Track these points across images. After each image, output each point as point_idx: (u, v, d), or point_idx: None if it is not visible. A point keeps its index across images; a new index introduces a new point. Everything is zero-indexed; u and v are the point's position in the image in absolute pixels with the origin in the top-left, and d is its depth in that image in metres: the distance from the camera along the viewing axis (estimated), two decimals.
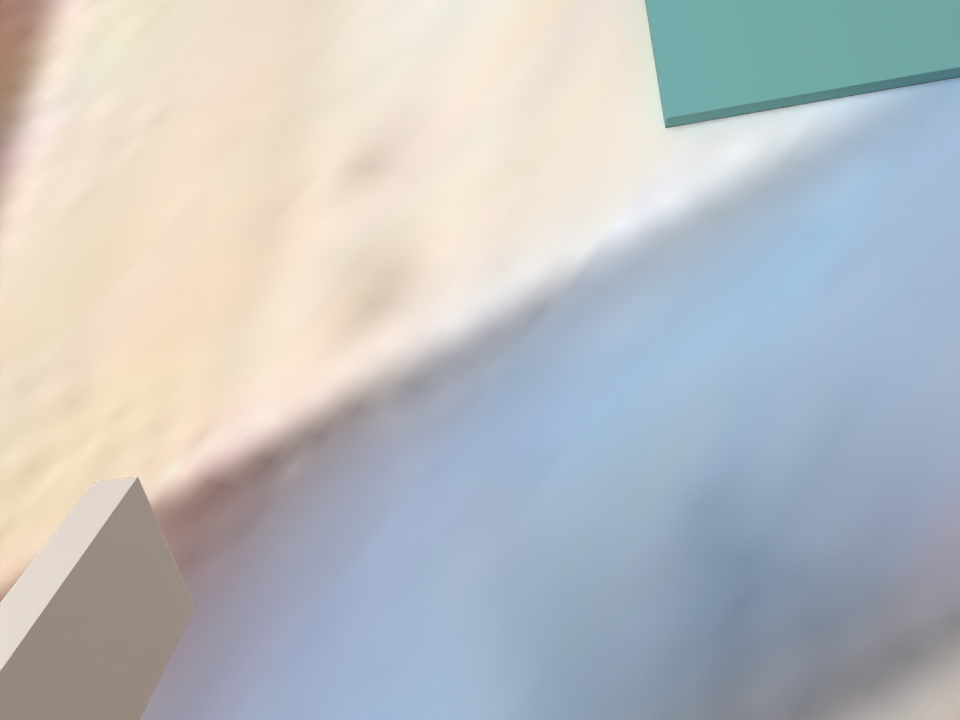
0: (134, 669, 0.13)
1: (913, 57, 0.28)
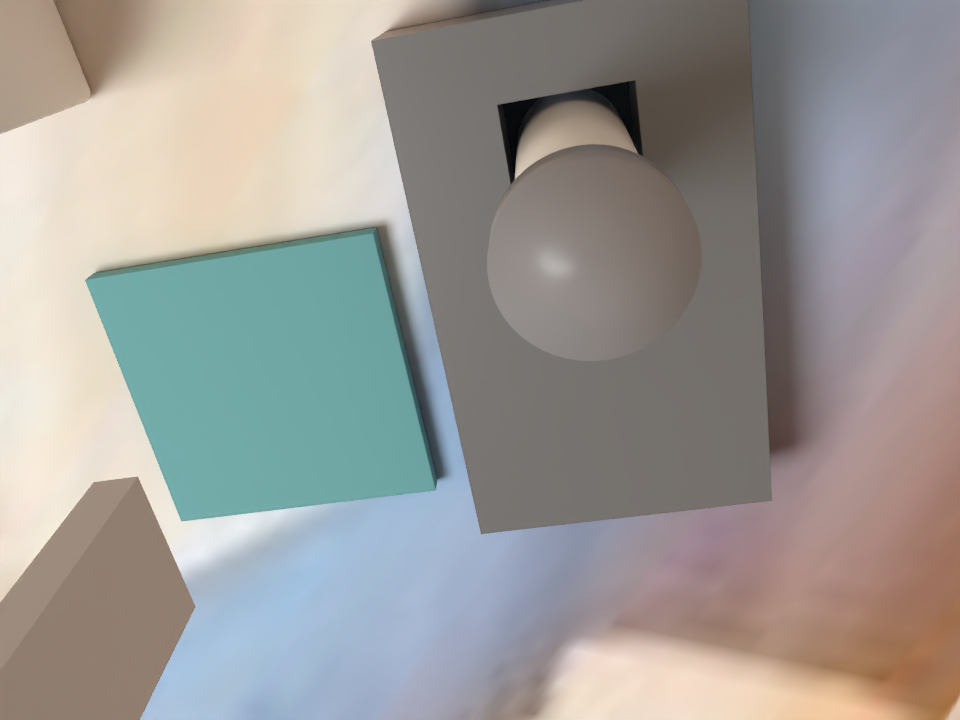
0: (134, 670, 0.13)
1: (345, 490, 0.39)
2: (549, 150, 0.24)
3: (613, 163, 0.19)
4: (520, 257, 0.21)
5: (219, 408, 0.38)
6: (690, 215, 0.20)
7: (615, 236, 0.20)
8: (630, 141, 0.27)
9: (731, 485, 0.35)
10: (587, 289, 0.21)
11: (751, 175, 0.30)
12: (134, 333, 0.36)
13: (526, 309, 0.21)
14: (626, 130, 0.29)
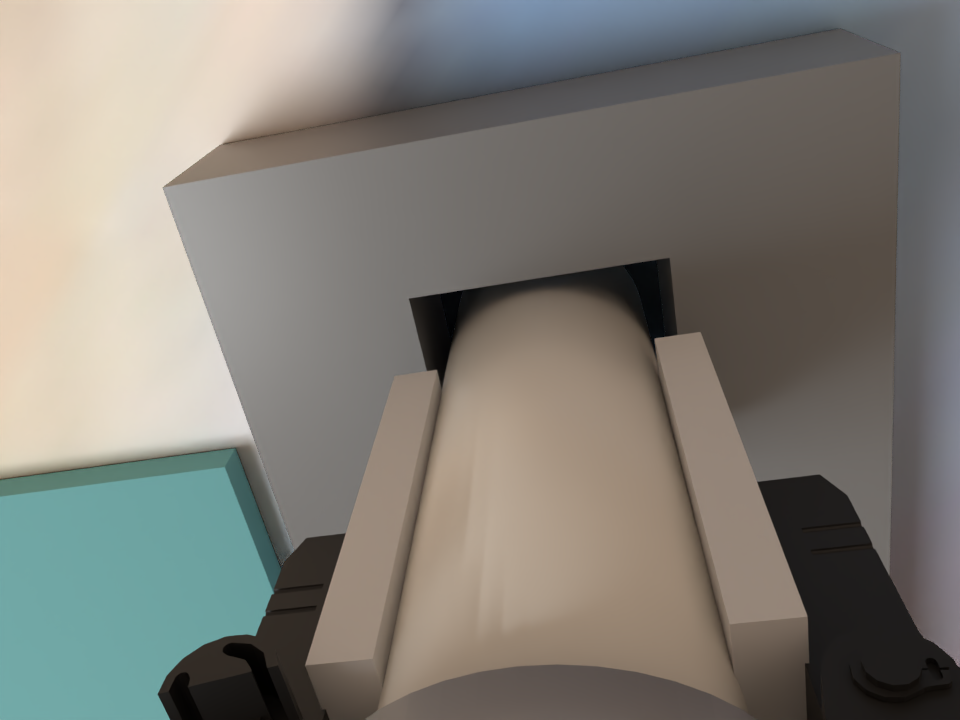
0: None
1: None
2: (472, 523, 0.10)
3: None
4: None
5: (16, 698, 0.24)
6: None
7: None
8: (658, 417, 0.13)
9: None
10: None
11: (884, 419, 0.16)
12: None
13: None
14: (647, 353, 0.15)
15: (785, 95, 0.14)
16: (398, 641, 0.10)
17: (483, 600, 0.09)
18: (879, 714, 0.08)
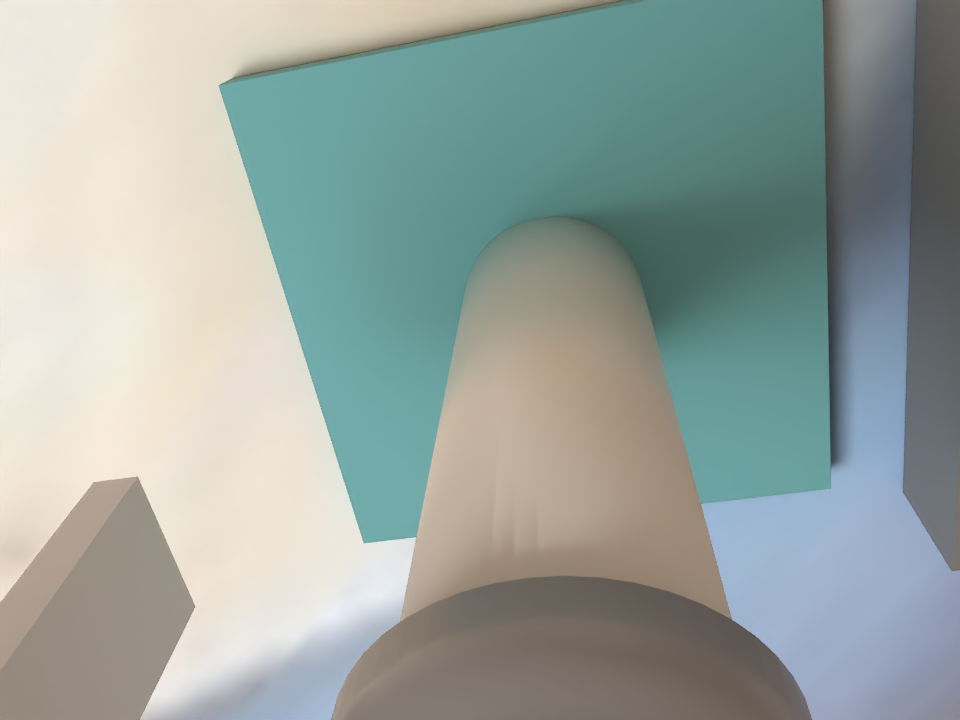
0: (134, 669, 0.13)
1: None
2: (484, 469, 0.11)
3: (625, 718, 0.07)
4: None
5: None
6: None
7: None
8: (656, 381, 0.14)
9: None
10: None
11: None
12: (307, 195, 0.19)
13: None
14: (646, 325, 0.16)
15: None
16: (416, 574, 0.10)
17: (496, 532, 0.10)
18: None
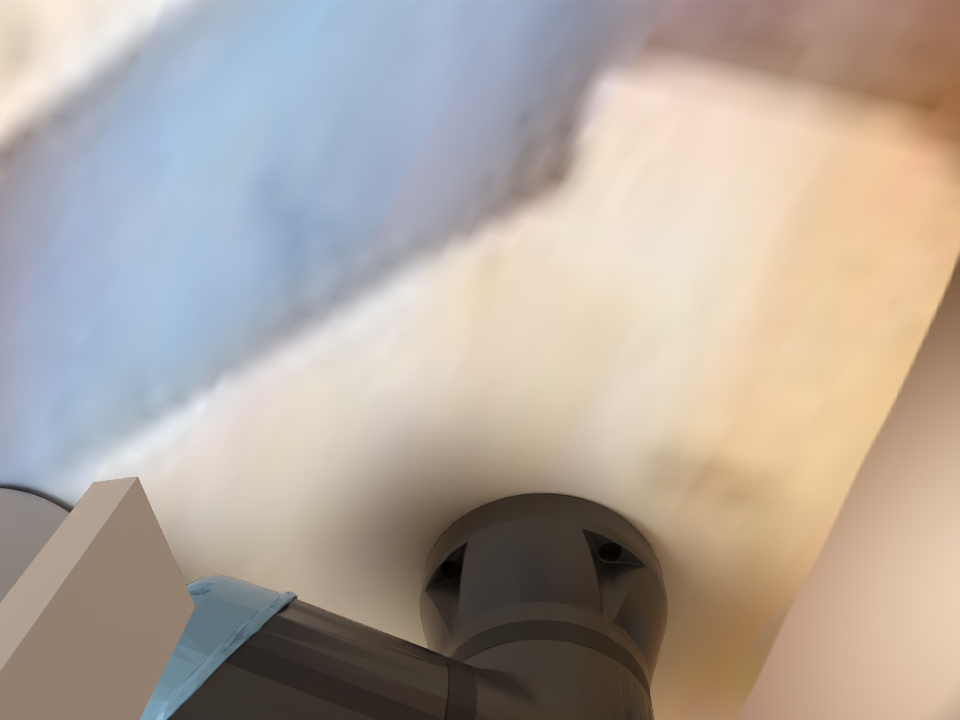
0: (134, 669, 0.13)
1: None
2: None
3: None
4: None
5: None
6: None
7: None
8: None
9: None
10: None
11: None
12: None
13: None
14: None
15: None
16: None
17: None
18: None
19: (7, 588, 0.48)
